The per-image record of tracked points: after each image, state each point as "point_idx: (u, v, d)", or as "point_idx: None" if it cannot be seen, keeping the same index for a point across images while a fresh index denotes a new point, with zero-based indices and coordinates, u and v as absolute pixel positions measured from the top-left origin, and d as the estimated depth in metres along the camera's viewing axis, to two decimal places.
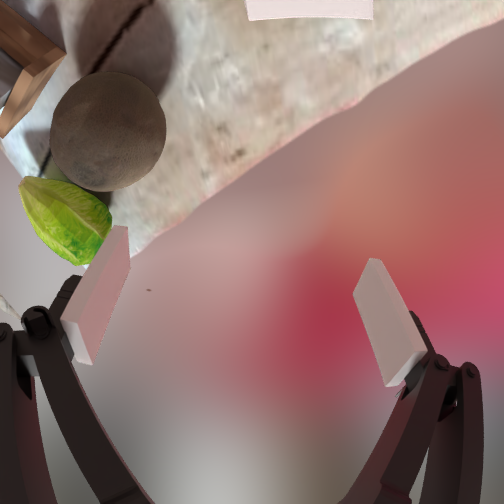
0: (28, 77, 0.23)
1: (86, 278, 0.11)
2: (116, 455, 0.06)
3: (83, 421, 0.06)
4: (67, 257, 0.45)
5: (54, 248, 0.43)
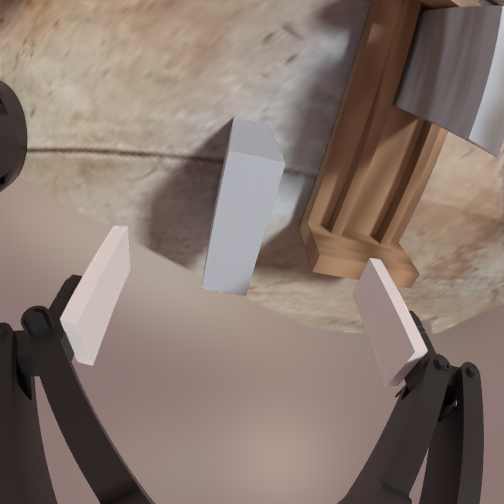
0: None
1: (86, 278, 0.11)
2: (116, 455, 0.06)
3: (83, 421, 0.06)
4: None
5: None
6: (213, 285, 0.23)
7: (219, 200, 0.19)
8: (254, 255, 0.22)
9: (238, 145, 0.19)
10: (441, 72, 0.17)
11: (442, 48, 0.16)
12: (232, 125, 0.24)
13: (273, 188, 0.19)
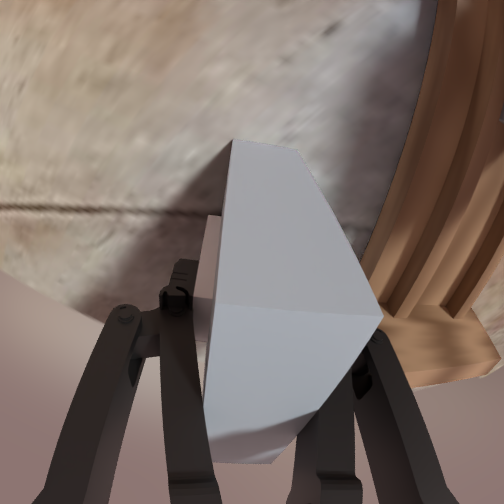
0: None
1: (204, 260, 0.13)
2: (207, 443, 0.07)
3: (189, 403, 0.08)
4: None
5: None
6: (217, 459, 0.11)
7: (208, 391, 0.07)
8: (287, 439, 0.10)
9: (245, 258, 0.07)
10: None
11: None
12: (229, 163, 0.12)
13: (341, 366, 0.07)
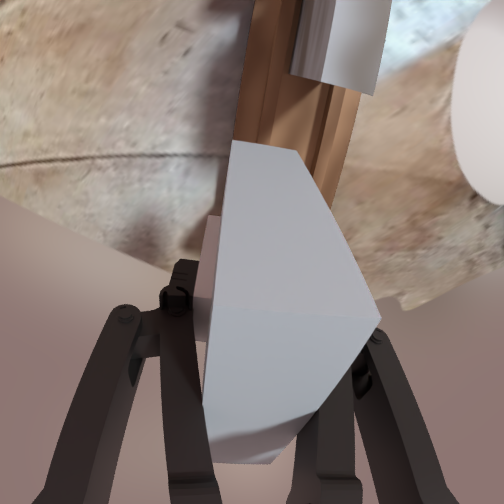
0: None
1: (204, 260, 0.13)
2: (207, 443, 0.07)
3: (189, 403, 0.08)
4: None
5: None
6: (216, 460, 0.11)
7: (206, 392, 0.07)
8: (286, 439, 0.10)
9: (243, 260, 0.07)
10: (311, 27, 0.18)
11: (313, 4, 0.17)
12: (228, 164, 0.12)
13: (339, 367, 0.07)
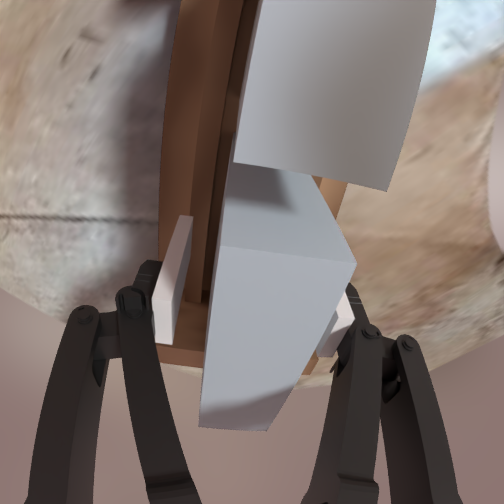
0: None
1: (168, 261, 0.13)
2: (179, 443, 0.07)
3: (155, 404, 0.08)
4: None
5: None
6: (216, 424, 0.13)
7: (210, 337, 0.09)
8: (281, 398, 0.11)
9: (244, 218, 0.08)
10: (257, 10, 0.08)
11: None
12: (231, 151, 0.14)
13: (324, 312, 0.09)
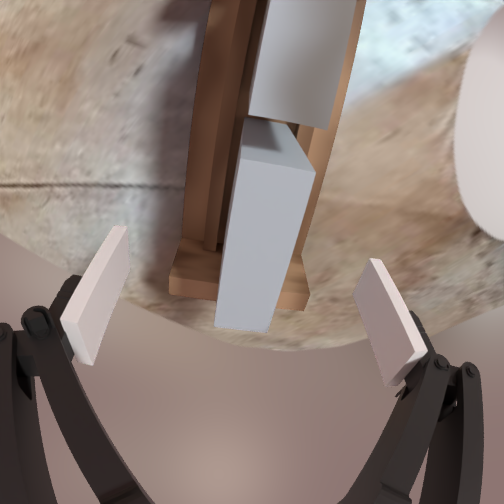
0: None
1: (86, 278, 0.11)
2: (116, 455, 0.06)
3: (83, 421, 0.06)
4: None
5: None
6: (228, 322, 0.19)
7: (231, 223, 0.15)
8: (277, 288, 0.17)
9: (252, 151, 0.14)
10: (261, 35, 0.14)
11: (267, 5, 0.14)
12: (243, 126, 0.20)
13: (300, 206, 0.14)
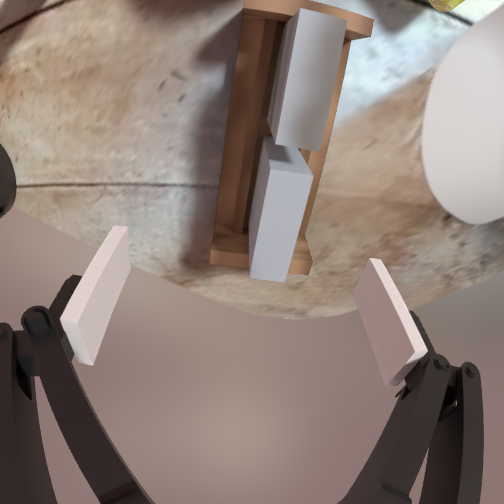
0: None
1: (86, 278, 0.11)
2: (116, 455, 0.06)
3: (83, 421, 0.06)
4: None
5: None
6: (258, 274, 0.29)
7: (264, 207, 0.25)
8: (291, 248, 0.27)
9: (276, 164, 0.24)
10: (278, 86, 0.24)
11: (281, 62, 0.24)
12: (265, 144, 0.30)
13: (305, 195, 0.24)
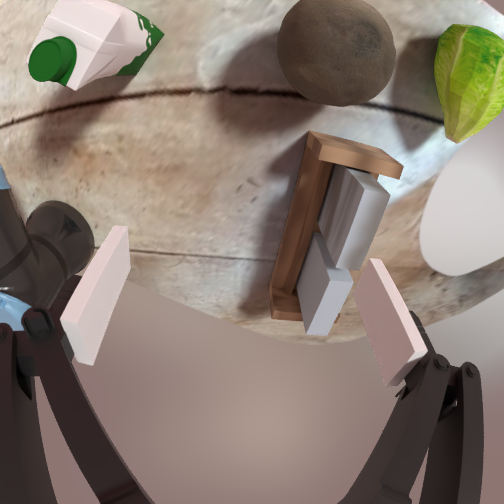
0: (324, 150, 0.35)
1: (86, 278, 0.11)
2: (116, 455, 0.06)
3: (83, 421, 0.06)
4: None
5: None
6: (312, 332, 0.45)
7: (322, 298, 0.41)
8: (334, 318, 0.43)
9: (331, 273, 0.40)
10: (335, 217, 0.40)
11: (338, 199, 0.39)
12: (318, 246, 0.45)
13: (347, 292, 0.40)
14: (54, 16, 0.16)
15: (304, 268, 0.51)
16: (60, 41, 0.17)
